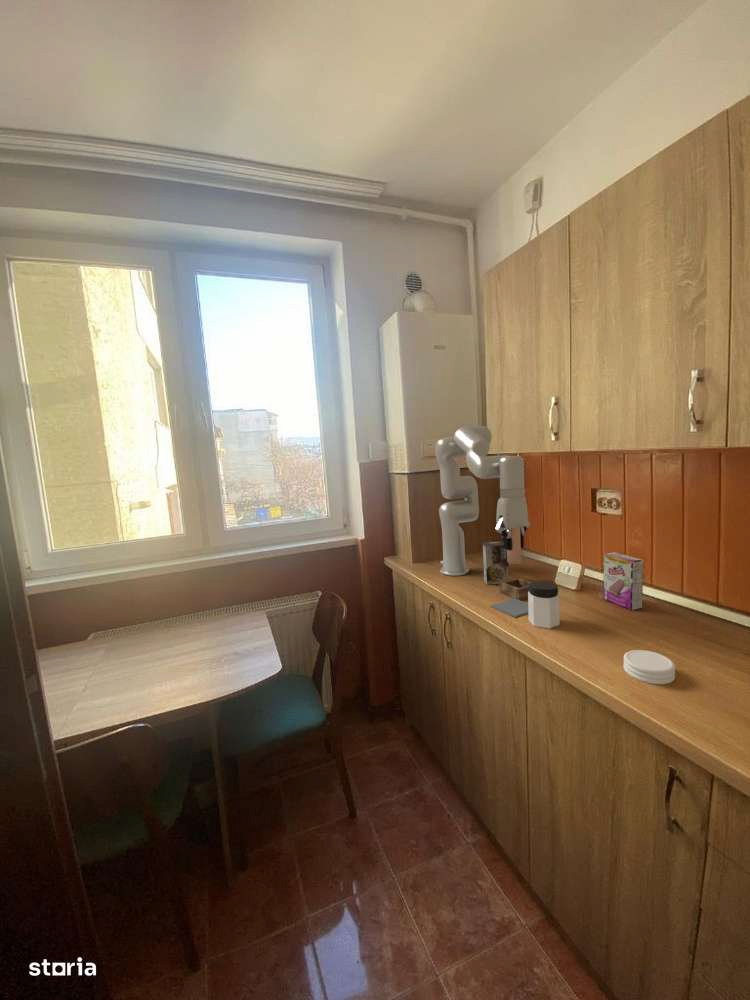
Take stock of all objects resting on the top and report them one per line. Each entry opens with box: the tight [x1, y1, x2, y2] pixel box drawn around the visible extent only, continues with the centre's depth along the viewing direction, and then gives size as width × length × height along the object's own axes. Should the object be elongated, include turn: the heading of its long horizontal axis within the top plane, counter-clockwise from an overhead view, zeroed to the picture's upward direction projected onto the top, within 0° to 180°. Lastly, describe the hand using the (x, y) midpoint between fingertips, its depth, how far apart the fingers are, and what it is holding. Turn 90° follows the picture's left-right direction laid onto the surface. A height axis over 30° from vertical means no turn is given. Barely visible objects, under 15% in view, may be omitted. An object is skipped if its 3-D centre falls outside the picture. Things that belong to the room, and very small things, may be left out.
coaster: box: [623, 649, 676, 685], centre depth 94 cm, size 10×10×4 cm
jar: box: [527, 580, 561, 630], centre depth 123 cm, size 9×8×12 cm
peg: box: [506, 524, 522, 565], centre depth 133 cm, size 4×4×13 cm
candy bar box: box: [602, 551, 644, 611], centre depth 133 cm, size 11×5×16 cm, turn 18°
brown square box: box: [499, 577, 533, 601], centre depth 149 cm, size 9×9×4 cm
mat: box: [490, 598, 528, 618], centre depth 136 cm, size 11×11×1 cm
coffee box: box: [482, 540, 510, 585], centre depth 163 cm, size 9×6×16 cm
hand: (513, 547), depth 133 cm, fingers closed on peg, 4 cm apart
